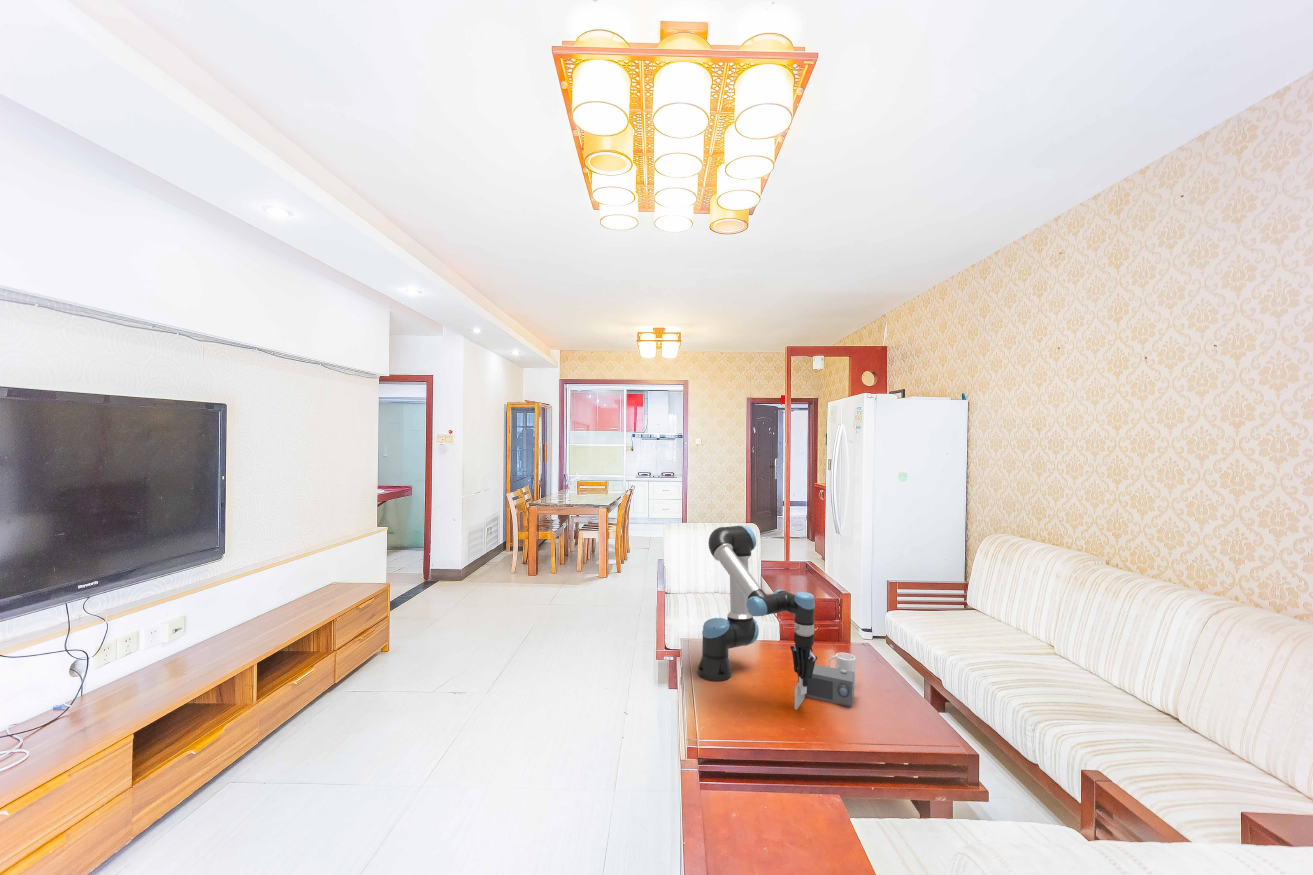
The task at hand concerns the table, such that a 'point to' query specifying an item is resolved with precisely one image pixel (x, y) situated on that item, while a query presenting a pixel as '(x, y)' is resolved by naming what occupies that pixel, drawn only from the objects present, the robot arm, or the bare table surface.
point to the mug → (845, 662)
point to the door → (798, 697)
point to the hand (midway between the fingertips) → (802, 693)
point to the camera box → (831, 685)
